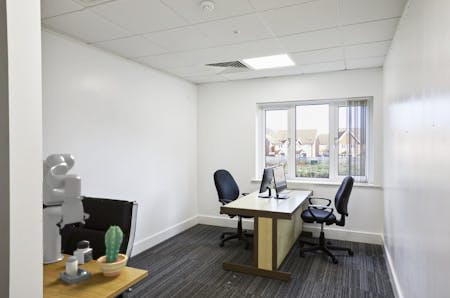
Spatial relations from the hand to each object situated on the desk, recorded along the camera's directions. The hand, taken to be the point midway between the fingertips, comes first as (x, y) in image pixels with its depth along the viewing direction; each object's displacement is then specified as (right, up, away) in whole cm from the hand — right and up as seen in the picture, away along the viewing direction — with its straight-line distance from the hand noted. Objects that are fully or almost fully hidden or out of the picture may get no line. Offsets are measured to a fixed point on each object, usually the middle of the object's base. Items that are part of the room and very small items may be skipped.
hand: (71, 233), depth 148 cm
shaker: (0, -22, -1) cm, 22 cm away
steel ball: (+7, -22, -1) cm, 23 cm away
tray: (+2, -23, -1) cm, 23 cm away
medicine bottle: (-5, -23, +21) cm, 32 cm away
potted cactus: (+19, -23, +5) cm, 30 cm away
